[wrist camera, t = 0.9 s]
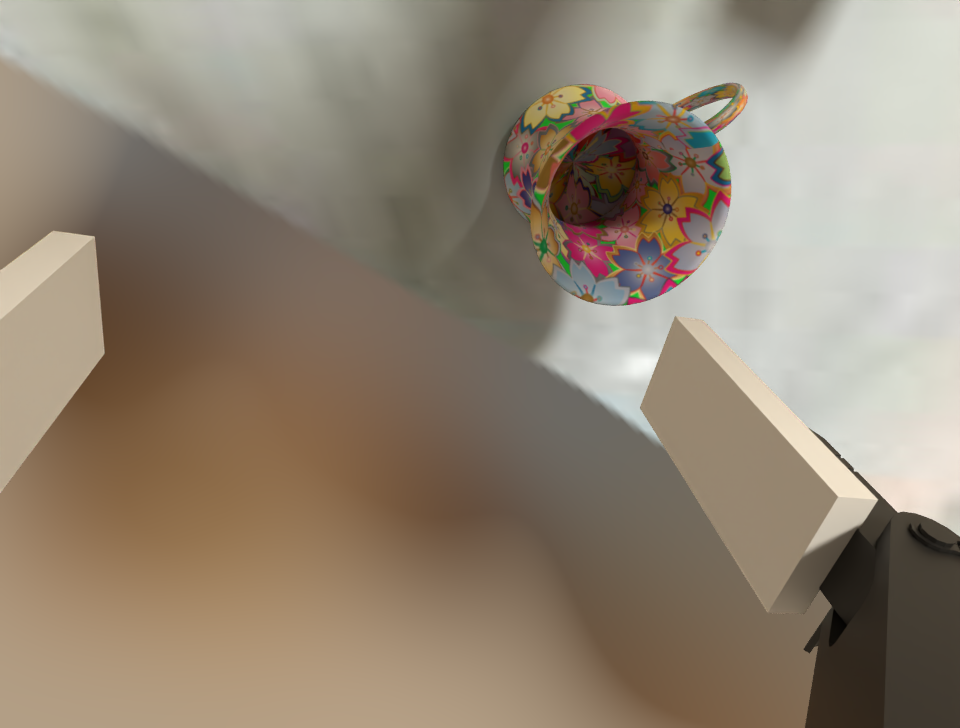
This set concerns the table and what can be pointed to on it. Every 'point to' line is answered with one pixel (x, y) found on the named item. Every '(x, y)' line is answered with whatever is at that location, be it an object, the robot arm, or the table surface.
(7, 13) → the table surface
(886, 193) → the table surface
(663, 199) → the mug
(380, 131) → the table surface
